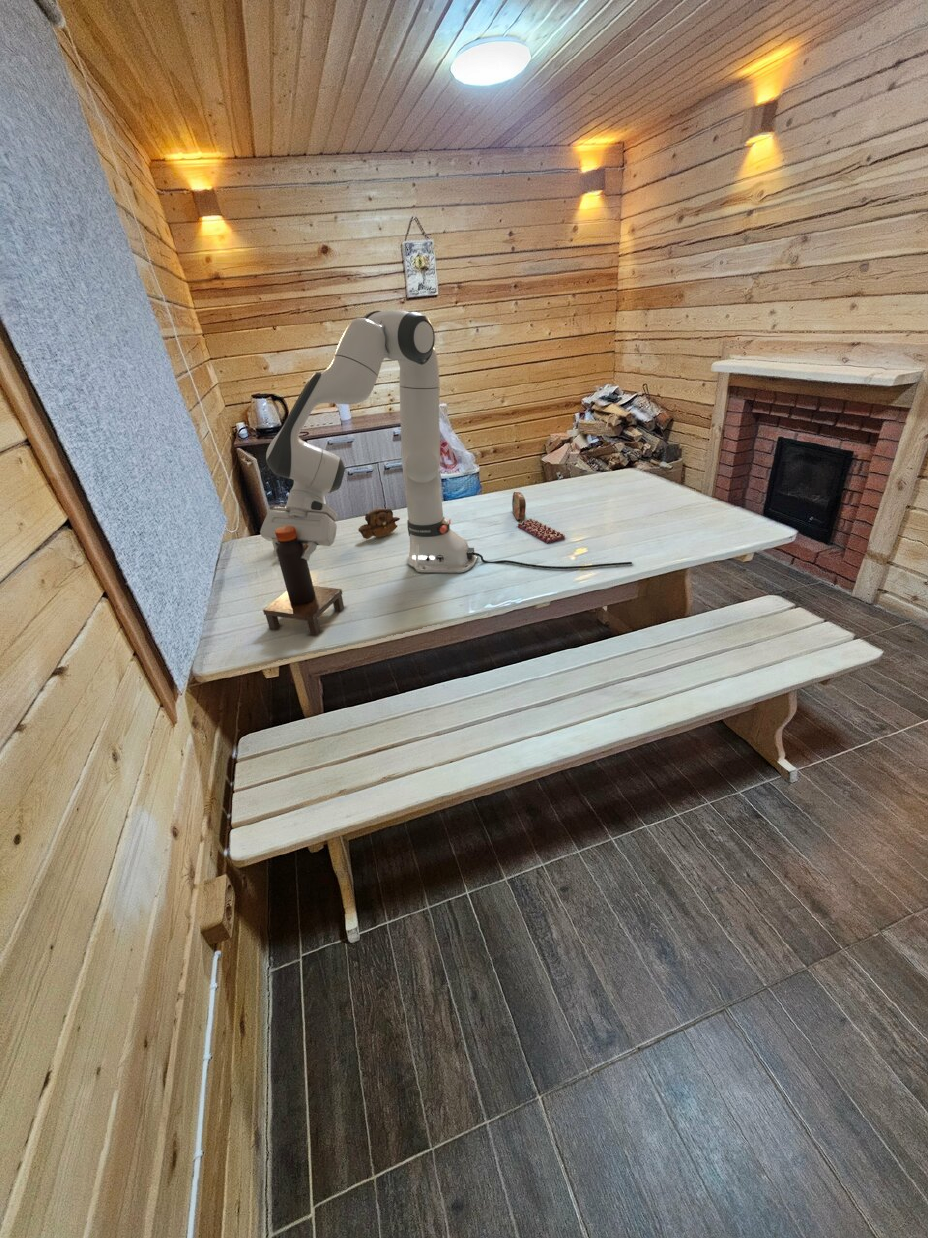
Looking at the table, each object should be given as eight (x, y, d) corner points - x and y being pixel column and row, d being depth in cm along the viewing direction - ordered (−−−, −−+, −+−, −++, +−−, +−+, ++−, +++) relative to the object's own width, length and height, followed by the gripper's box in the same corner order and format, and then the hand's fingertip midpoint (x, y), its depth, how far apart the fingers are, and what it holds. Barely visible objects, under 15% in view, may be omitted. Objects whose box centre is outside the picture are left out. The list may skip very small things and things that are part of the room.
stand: (345, 607, 147) (341, 589, 144) (317, 636, 135) (312, 616, 132) (299, 602, 151) (295, 583, 148) (268, 629, 139) (262, 609, 136)
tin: (511, 509, 208) (511, 489, 203) (519, 509, 208) (519, 488, 204) (518, 523, 195) (518, 501, 191) (526, 522, 195) (526, 500, 191)
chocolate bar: (532, 522, 195) (533, 517, 194) (564, 538, 180) (564, 533, 179) (516, 526, 192) (516, 521, 191) (547, 543, 178) (547, 537, 177)
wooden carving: (366, 544, 185) (361, 517, 180) (359, 541, 188) (354, 514, 183) (403, 531, 194) (400, 505, 189) (396, 528, 197) (393, 502, 192)
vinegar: (284, 603, 138) (265, 533, 127) (300, 591, 143) (282, 523, 133) (305, 607, 136) (287, 536, 125) (320, 594, 141) (304, 525, 130)
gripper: (263, 500, 135) (248, 550, 132) (332, 505, 130) (318, 557, 127) (277, 511, 141) (263, 559, 138) (343, 516, 135) (331, 566, 133)
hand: (290, 558), depth 133 cm, fingers closed on vinegar, 7 cm apart
